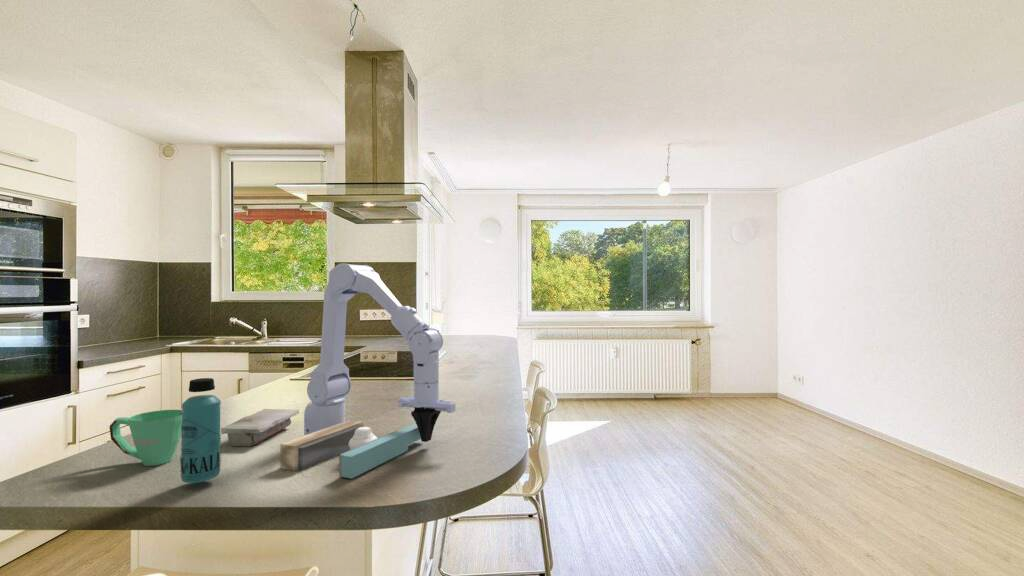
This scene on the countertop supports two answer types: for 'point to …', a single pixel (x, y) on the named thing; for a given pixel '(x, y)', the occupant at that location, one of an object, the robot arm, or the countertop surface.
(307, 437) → the wooden block
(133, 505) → the countertop surface
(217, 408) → the beverage bottle
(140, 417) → the mug
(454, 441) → the countertop surface
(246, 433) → the grey box
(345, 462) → the movable jaw
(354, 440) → the white ribbed dome
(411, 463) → the countertop surface
